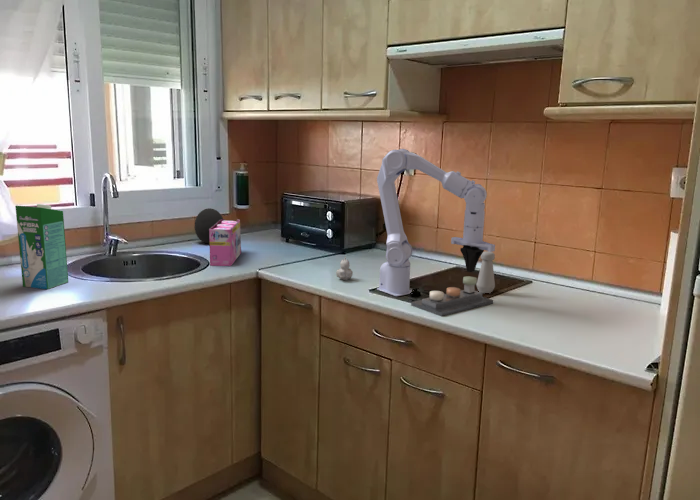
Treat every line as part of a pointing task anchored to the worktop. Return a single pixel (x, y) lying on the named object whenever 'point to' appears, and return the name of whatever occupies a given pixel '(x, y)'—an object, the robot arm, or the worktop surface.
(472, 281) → the sage knob
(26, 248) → the milk carton
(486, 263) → the salt shaker
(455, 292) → the terracotta knob
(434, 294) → the cream knob
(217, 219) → the decorative egg
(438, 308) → the switch panel
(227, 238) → the gum box
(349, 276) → the beige lumpy figurine
